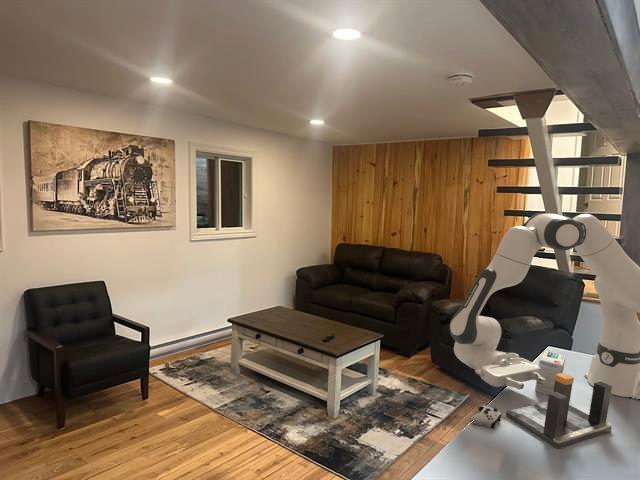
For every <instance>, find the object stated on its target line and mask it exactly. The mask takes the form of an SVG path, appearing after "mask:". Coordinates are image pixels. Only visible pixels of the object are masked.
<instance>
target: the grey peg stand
mask: <svg viewBox="0 0 640 480" xmlns="http://www.w3.org/2000/svg"><path fill="white" fill-rule="evenodd" d="M592 387H593V389H592V394H591V399H590V400H591V401H590V406H589V407H590V408H589V414H588V413H586V412H584V411H582V410H580V409H579V408H576V407H574V406H572V405H571V404H569V409H568V416H567V420H565V421H564V419H565V412H566V406H567V399H568V397H566V396H564V395H562V394H560V393H558V392H554V393H550V394H549V395H548V399H547V401H544V402H540V403H535V404H532V405H527V406H523V407H519V408H515V409H511V410H508V411H505V417H506V418H507V419H509V420H510V421H512V422H514V423H515V424H517V425H519V426H520V427H522V428H524V429H525V430H526V431H528V432H530V433H531V434H533V435H534V436H536V437H538V438H539V439H541V440H542V441H544V442H546V443H547V444H549V445H550V446H552V447H553V448H555V449H557V450H560V449H563V448H566V447H570V446H572V445H576V444H579V443H581V442H585V441H588V440H591V439H595V438H597V437H600V436H603V435H606V434H607V435H608V434H610V433H611V432H612V429H613V424H611V423H610V422H608V421H607V419H608V412H609V408H610V407H609V406H610V401H611V397H612V396H611V395H612V394H611V390H612V386H610V385H608V384H605V383H603V382H597V383H594V386H592Z"/></svg>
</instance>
